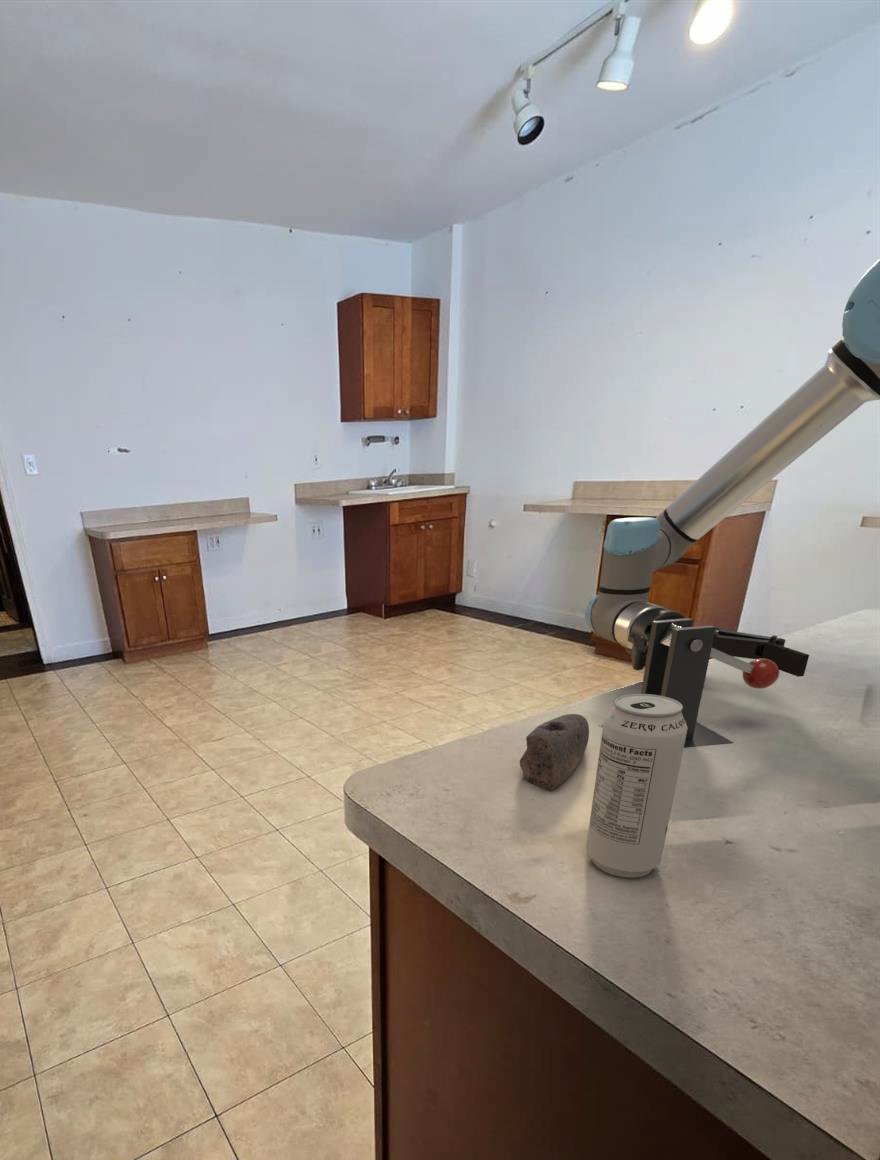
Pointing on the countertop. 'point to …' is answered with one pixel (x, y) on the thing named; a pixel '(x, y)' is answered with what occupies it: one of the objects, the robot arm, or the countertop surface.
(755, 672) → the red knob lever
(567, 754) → the perforated stone tool
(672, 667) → the bracket
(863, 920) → the countertop surface
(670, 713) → the energy drink can
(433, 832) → the countertop surface
